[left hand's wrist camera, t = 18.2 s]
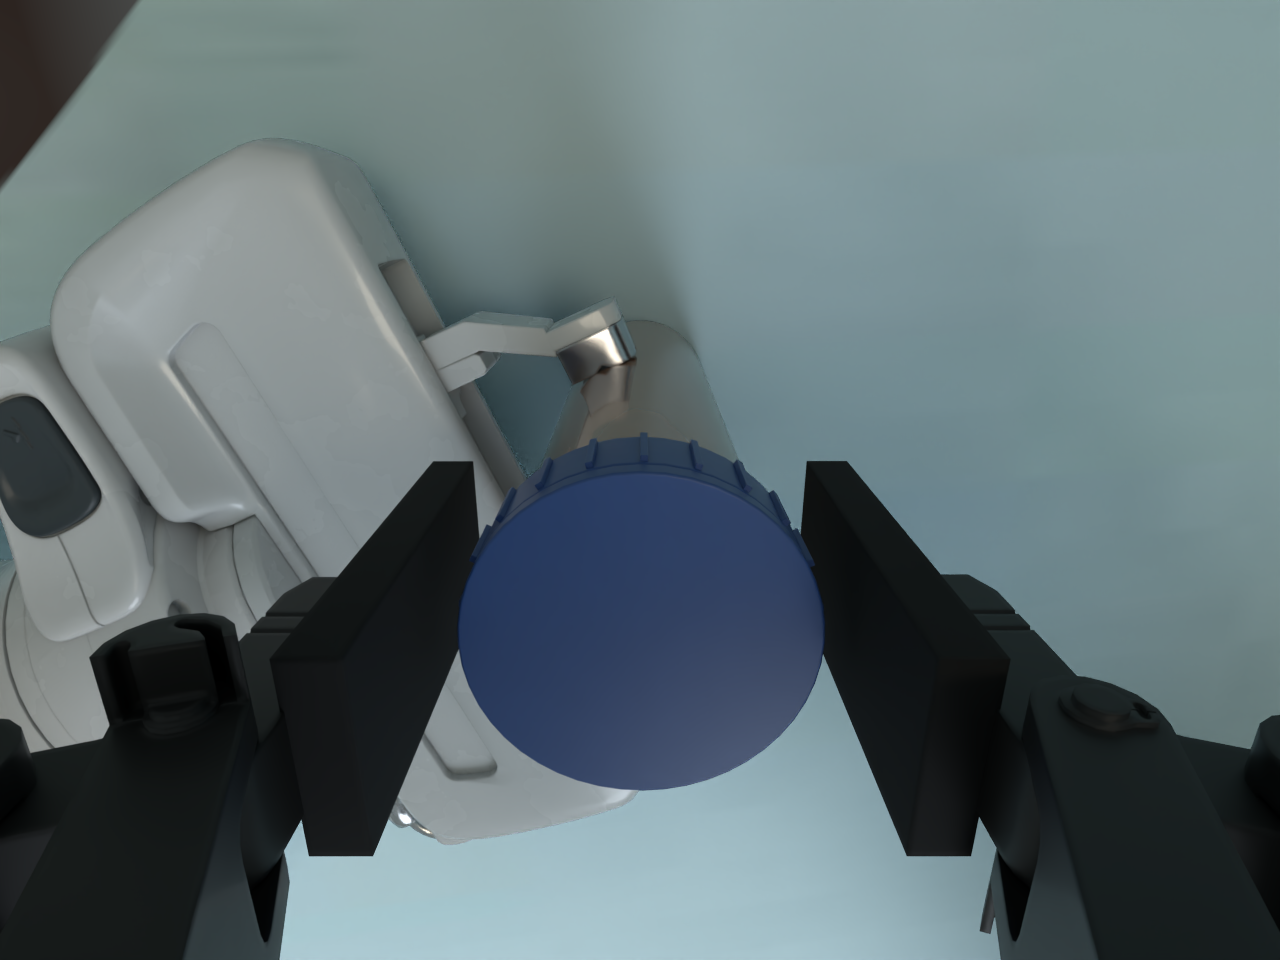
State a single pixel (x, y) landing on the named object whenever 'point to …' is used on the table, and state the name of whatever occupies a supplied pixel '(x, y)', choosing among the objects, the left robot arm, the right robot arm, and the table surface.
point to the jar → (644, 398)
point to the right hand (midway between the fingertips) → (670, 423)
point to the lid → (641, 615)
